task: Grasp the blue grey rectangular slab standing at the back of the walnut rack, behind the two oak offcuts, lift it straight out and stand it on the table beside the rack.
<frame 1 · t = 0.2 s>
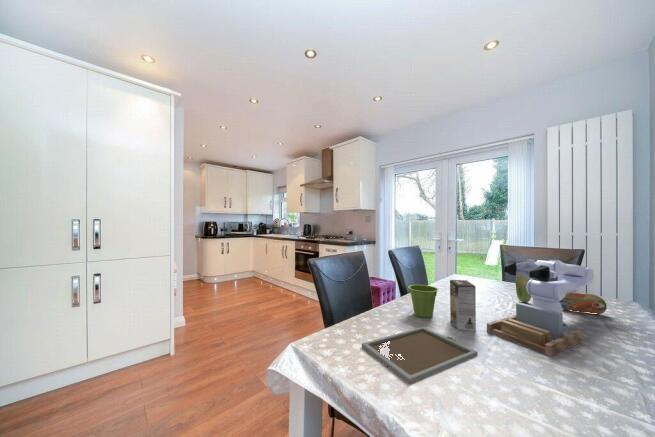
hand: (517, 271, 84), 21 cm above the table, tool horizontal, fingers open, 7 cm apart
tin: (580, 312, 103), on the table
vegetable: (524, 303, 115), on the table
coffee box: (462, 325, 89), on the table
plant pot: (423, 315, 99), on the table
offcut b: (522, 341, 77), resting in rack
rack: (532, 336, 80), on the table
blue grey rectangular slab: (538, 334, 82), on the table
offcut a: (527, 338, 78), resting in rack
picture frame: (421, 352, 71), on the table
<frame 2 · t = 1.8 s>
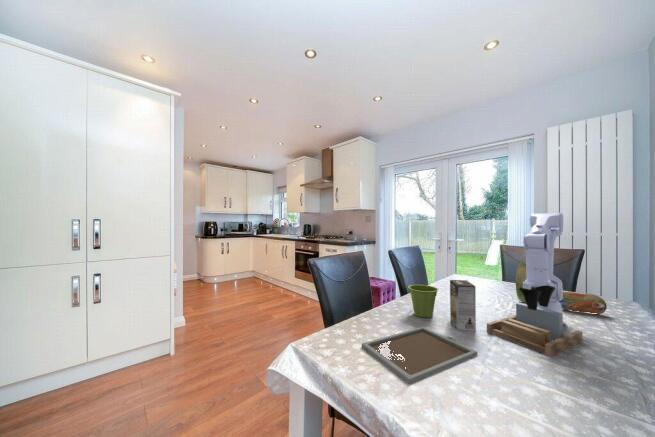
hand: (537, 307, 82), 9 cm above the table, tool pointing down, fingers open, 7 cm apart
nothing on the table moved.
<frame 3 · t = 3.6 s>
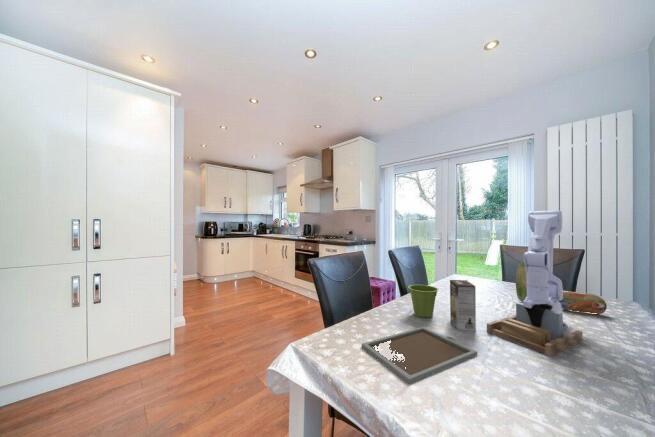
hand: (538, 325, 82), 3 cm above the table, tool pointing down, fingers closed on blue grey rectangular slab, 2 cm apart
blue grey rectangular slab: (538, 334, 82), on the table, touching gripper
everything else where it was.
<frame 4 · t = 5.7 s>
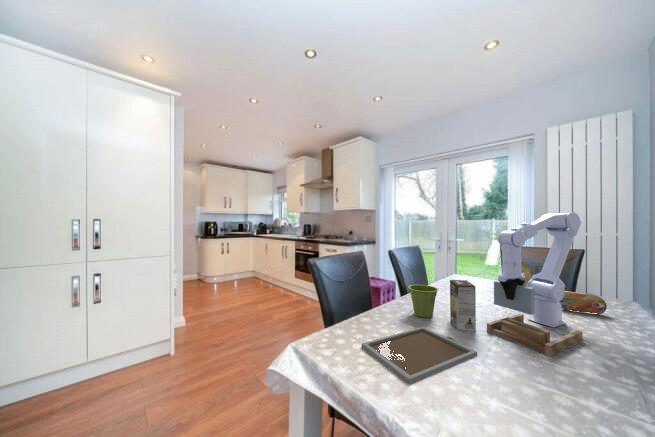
hand: (512, 298, 89), 10 cm above the table, tool pointing down, fingers closed on blue grey rectangular slab, 2 cm apart
blue grey rectangular slab: (513, 308, 88), point 6 cm above the table, touching gripper
everything else where it was.
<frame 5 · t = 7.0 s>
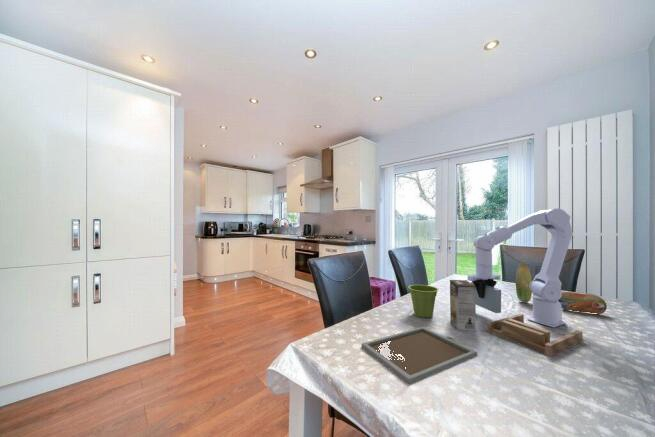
hand: (484, 297, 98), 8 cm above the table, tool pointing down, fingers closed on blue grey rectangular slab, 2 cm apart
blue grey rectangular slab: (484, 307, 98), point 4 cm above the table, touching gripper
everything else where it was.
when the fingers open (4 cm above the table, at t = 8.2 s): blue grey rectangular slab stays where it is, on the table.
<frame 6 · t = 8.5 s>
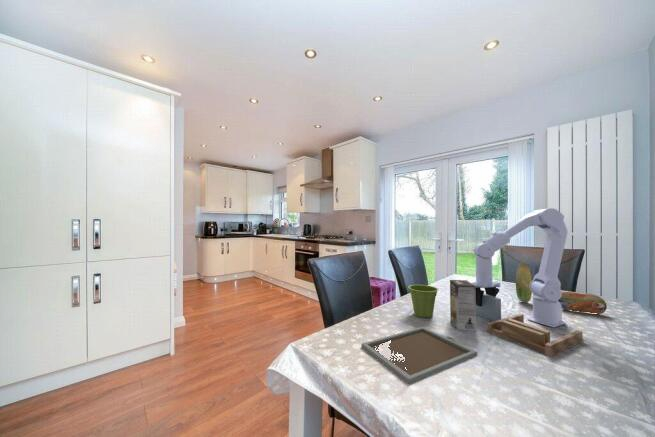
hand: (484, 305, 98), 4 cm above the table, tool pointing down, fingers open, 5 cm apart
blue grey rectangular slab: (485, 316, 98), on the table
everything else where it was.
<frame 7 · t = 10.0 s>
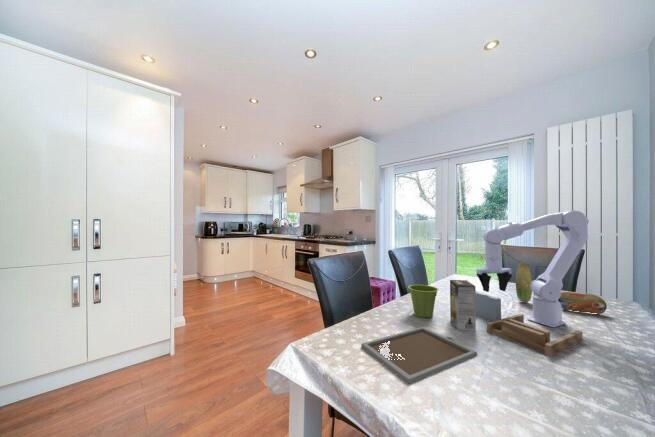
hand: (494, 290, 98), 10 cm above the table, tool pointing down, fingers open, 7 cm apart
nothing on the table moved.
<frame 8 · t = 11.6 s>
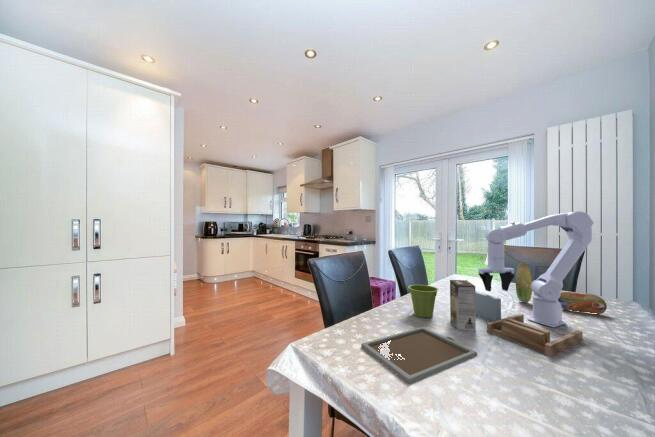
hand: (496, 290, 98), 10 cm above the table, tool pointing down, fingers open, 7 cm apart
nothing on the table moved.
at the end: blue grey rectangular slab inside the target area (0.2 cm from its centre), on the table; blue grey rectangular slab tilted 0°; the gripper is holding nothing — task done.
